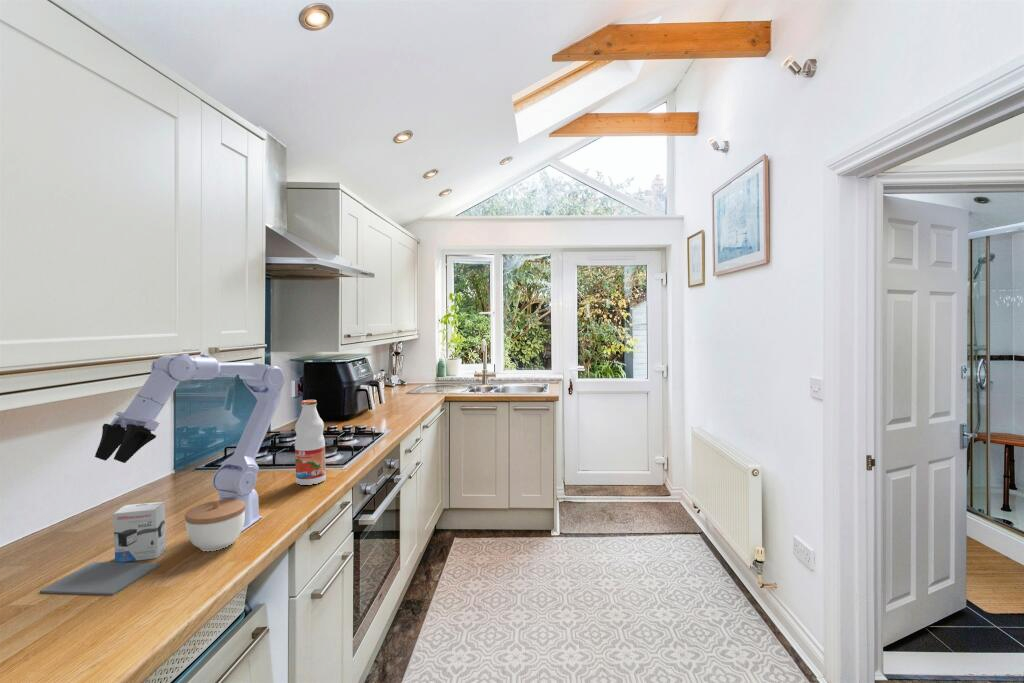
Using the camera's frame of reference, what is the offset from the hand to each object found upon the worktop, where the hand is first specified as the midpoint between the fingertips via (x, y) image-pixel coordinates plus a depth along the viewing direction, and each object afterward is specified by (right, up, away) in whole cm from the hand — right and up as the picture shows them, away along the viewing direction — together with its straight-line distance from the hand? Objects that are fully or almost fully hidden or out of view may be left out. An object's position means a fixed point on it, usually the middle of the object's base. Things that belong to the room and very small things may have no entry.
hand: (109, 460), depth 99 cm
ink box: (-2, -26, +12) cm, 28 cm away
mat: (-3, -26, +2) cm, 26 cm away
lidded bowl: (+12, -25, +17) cm, 33 cm away
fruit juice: (+16, -23, +62) cm, 68 cm away
